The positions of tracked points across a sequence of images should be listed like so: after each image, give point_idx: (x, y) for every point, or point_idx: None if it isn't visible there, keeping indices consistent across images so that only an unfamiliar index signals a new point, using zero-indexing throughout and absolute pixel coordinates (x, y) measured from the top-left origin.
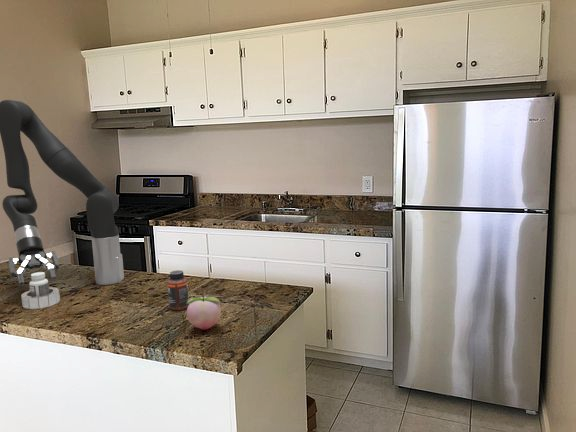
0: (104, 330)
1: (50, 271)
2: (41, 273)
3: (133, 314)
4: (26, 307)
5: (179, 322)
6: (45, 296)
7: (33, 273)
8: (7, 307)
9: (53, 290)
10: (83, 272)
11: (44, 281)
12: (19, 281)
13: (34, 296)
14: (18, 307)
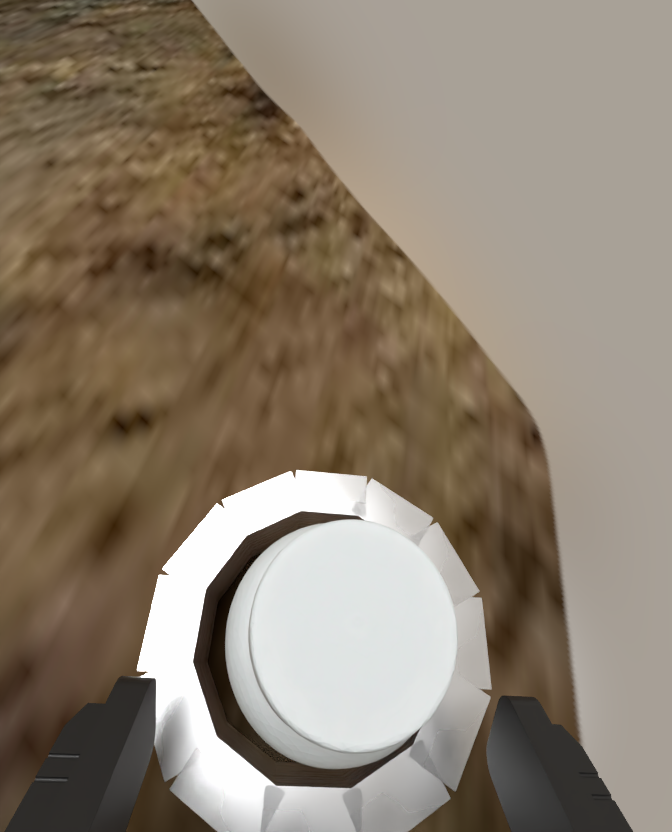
0: (217, 102)
1: (93, 803)
2: (308, 580)
3: (47, 130)
4: None
5: (8, 17)
6: (312, 473)
7: (414, 707)
8: None
9: (202, 604)
10: None
11: (289, 540)
12: (576, 747)
13: None
14: None
